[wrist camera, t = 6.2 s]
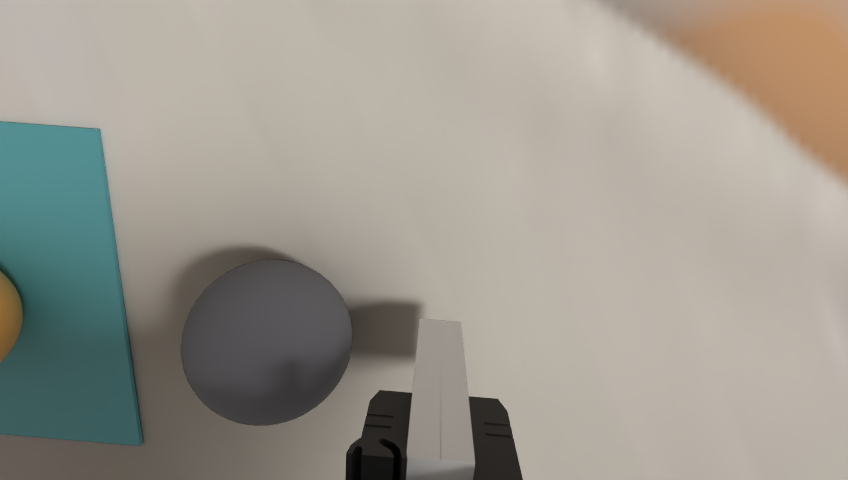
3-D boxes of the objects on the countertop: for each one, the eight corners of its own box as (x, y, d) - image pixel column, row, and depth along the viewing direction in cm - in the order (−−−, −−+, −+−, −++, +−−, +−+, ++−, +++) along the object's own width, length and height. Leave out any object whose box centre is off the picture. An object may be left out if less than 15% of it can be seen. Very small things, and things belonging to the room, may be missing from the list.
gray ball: (147, 282, 11) (217, 235, 17) (146, 462, 12) (212, 364, 18) (359, 301, 12) (361, 251, 17) (339, 468, 13) (347, 373, 19)
